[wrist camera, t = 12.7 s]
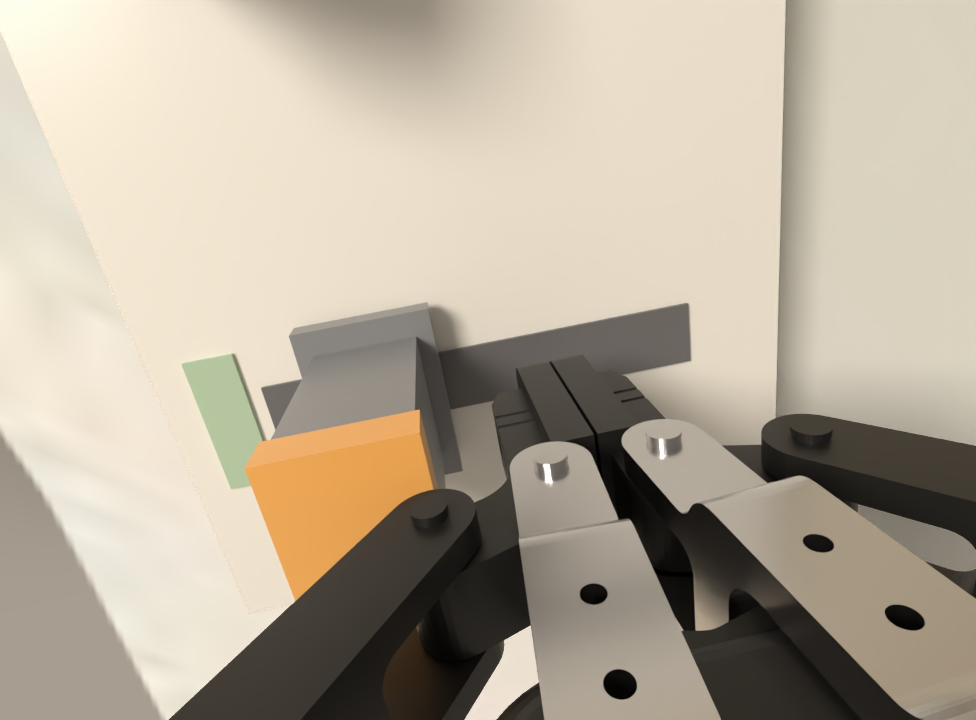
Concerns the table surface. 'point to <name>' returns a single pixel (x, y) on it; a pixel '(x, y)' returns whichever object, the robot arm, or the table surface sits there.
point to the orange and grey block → (353, 437)
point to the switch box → (420, 203)
